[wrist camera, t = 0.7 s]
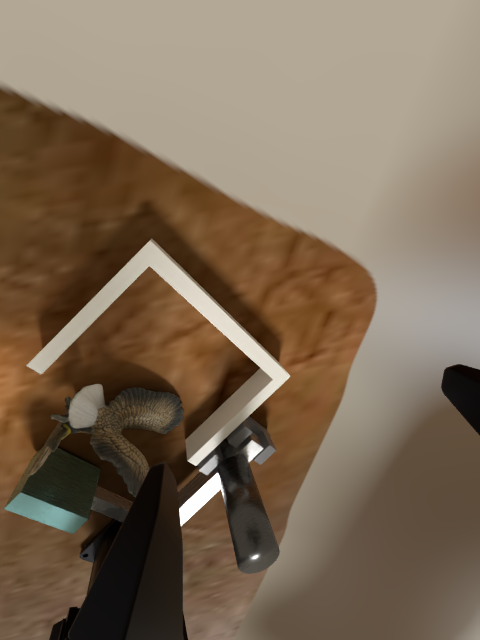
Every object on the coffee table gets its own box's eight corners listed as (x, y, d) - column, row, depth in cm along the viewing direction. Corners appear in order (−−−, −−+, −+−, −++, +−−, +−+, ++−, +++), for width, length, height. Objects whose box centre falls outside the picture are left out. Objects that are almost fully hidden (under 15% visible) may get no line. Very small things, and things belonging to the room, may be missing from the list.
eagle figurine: (48, 461, 21) (159, 491, 23) (2, 488, 15) (162, 526, 17) (95, 368, 24) (191, 401, 26) (73, 356, 18) (204, 400, 19)
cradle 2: (252, 443, 28) (261, 465, 25) (220, 419, 26) (226, 441, 23) (267, 429, 27) (277, 451, 25) (235, 405, 26) (243, 425, 23)
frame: (193, 444, 26) (195, 466, 23) (42, 349, 20) (26, 365, 17) (279, 362, 25) (290, 376, 23) (151, 238, 19) (150, 240, 17)
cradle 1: (227, 466, 28) (234, 491, 25) (193, 445, 26) (197, 469, 23) (242, 453, 28) (250, 476, 25) (208, 430, 26) (213, 453, 23)
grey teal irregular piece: (166, 517, 27) (167, 659, 18) (33, 456, 22) (-58, 618, 13) (258, 430, 27) (305, 534, 18) (145, 344, 21) (132, 433, 12)
